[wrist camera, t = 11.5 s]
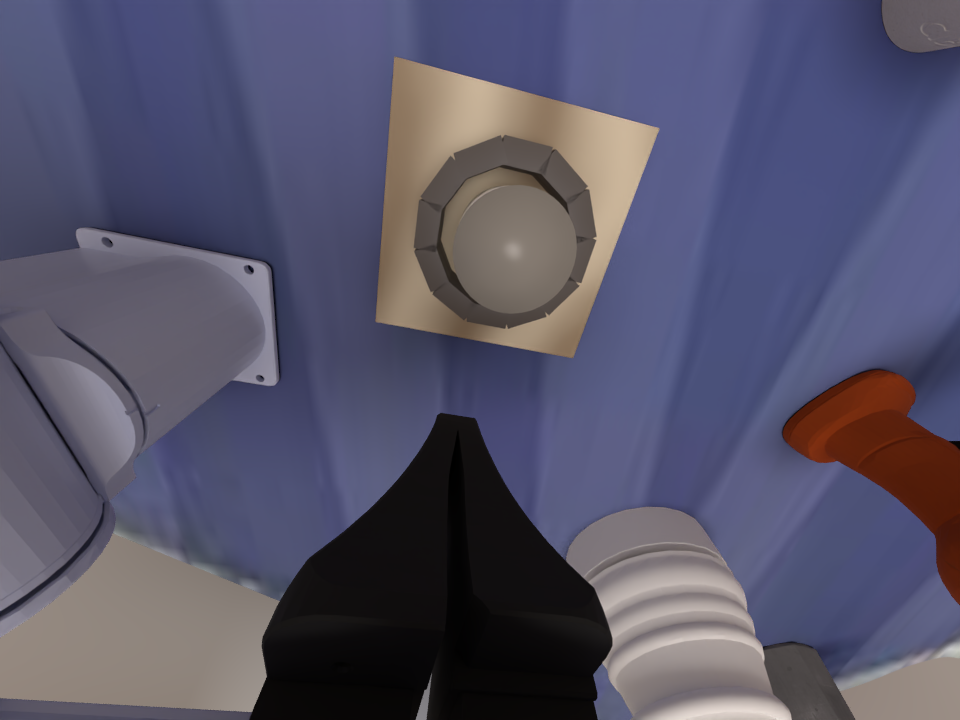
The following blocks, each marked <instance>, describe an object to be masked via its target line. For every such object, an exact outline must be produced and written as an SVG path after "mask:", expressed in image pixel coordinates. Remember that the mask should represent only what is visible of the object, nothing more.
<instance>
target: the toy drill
mask: <svg viewBox="0 0 960 720" xmlns="http://www.w3.org/2000/svg"><path fill="white" fill-rule="evenodd" d="M915 398H916V394H915V390H914V388H913V387H912V385H911V384H910V382H909V381H908V380H907V379H905V378H904V377H903V376H901V375H898V374H895V373H893V372H889V371H884V370H871V371H868V372H864V373H861V374H858V375H856V376H854V377H851V378H849V379H847V380H846V381H844V382H842V383H840V384H838V385H836V386H835V387H833V388H831V389H829V390H828V391H826V392H825V393H823V394H822V395H820V396H819V397H817V398H816V399H814V400H813V401H811V402H810V403H808V404H807V405H805V406H804V407H803V408H802V409H801V410H799V411H798V412H797V413H796V414H795V415H794V416H793V417H792V418H791V419H790V420H789V421H788V422H787V424H786V425H785V427H784V430H783V438H784V439H785V441H786V442H787V443H788V444H789V445H790V446H791V447H792V448H794V449H795V450H796V451H797V452H799V453H800V454H802V455H804V456H805V457H807V458H808V459H811V460H813V461H816V462H819V463H829V462H835V461H839V462H841V463H842V464H844V465H846V466H847V467H849V468H851V469H853V470H854V471H856V472H858V473H860V474H862V475H863V476H865V477H867V478H868V479H870V480H871V481H873V482H875V483H876V484H878V485H879V486H881V487H882V488H884V489H885V490H886V491H888V492H889V493H890V494H892V495H893V496H894V497H896V498H897V499H898V500H899V501H900V502H902V503H903V504H904V505H905V506H906V507H907V508H908V509H909V510H910V511H911V512H912V513H914V514H915V515H916V516H917V517H918V518H919V519H920V520H921V521H922V522H923V523H924V524H925V525H926V526H927V527H928V528H929V530H930V531H931V532H932V533H933V534H934V535H935V538H936V563H937V567H938V572H939V574H940V577H941V579H942V582H943V583H944V585H945V586H946V588H947V589H948V591H949V593H950V594H951V596H952V597H953V598H954V600H955V601H956V602H957V603H958V604H959V605H960V441H947V440H945V439H944V438H941V437H939V436H936V435H934V434H933V433H931V432H930V431H928V430H927V429H925V428H924V427H922V426H920V425H919V424H917V423H916V422H914V421H913V420H911V419H910V418H908V417H907V414H908V412H909V410H910V409H911V406H912V405H913V404H914V402H915Z"/></svg>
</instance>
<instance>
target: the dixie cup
mask: <svg viewBox="0 0 960 720" xmlns="http://www.w3.org/2000/svg"><path fill="white" fill-rule="evenodd" d="M882 18H883V24H884V27H885V30H886V33H887V35H888V36H889V38H890V39H891V41H892V42H893V43H894V44H895V45H896V46H898V47H899V48H901V49H903V50H905V51H909V52H916V53H920V52H929V51H935V50H940V49H946V48H952V47H958V46H960V0H882Z"/></svg>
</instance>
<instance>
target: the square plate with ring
mask: <svg viewBox="0 0 960 720" xmlns="http://www.w3.org/2000/svg"><path fill="white" fill-rule="evenodd" d="M658 131H659V128H656V127H652V126H649V125H645V124H641V123H638V122H634V121H630V120H626V119H623V118H619V117H615V116H612V115H608V114H604V113H601V112H597V111H593V110H590V109H586V108H582V107H579V106H575V105H571V104H567V103H564V102H560V101H556V100H553V99H549V98H545V97H542V96H538V95H534V94H531V93H527V92H523V91H520V90H516V89H512V88H508V87H505V86H501V85H497V84H494V83H490V82H486V81H483V80H479V79H475V78H472V77H468V76H464V75H461V74H457V73H453V72H449V71H446V70H442V69H438V68H435V67H431V66H427V65H424V64H420V63H416V62H413V61H409V60H405V59H402V58H398V57H394V70H393V84H392V98H391V112H390V126H389V140H388V154H387V168H386V182H385V196H384V210H383V224H382V238H381V252H380V266H379V279H378V293H377V307H376V321H375V322H379V323H385V324H390V325H396V326H401V327H407V328H412V329H418V330H423V331H428V332H434V333H439V334H445V335H450V336H456V337H461V338H467V339H472V340H477V341H483V342H488V343H494V344H499V345H505V346H510V347H515V348H521V349H526V350H532V351H537V352H543V353H548V354H554V355H559V356H564V357H570V358H573V357H574V354H575V351H576V349H577V346H578V343H579V341H580V338H581V335H582V333H583V330H584V327H585V325H586V322H587V319H588V317H589V314H590V311H591V309H592V306H593V303H594V301H595V298H596V296H597V293H598V290H599V288H600V285H601V282H602V280H603V277H604V274H605V272H606V269H607V266H608V264H609V261H610V258H611V256H612V253H613V250H614V248H615V245H616V242H617V240H618V237H619V235H620V232H621V229H622V227H623V224H624V221H625V219H626V216H627V213H628V211H629V208H630V205H631V203H632V200H633V197H634V195H635V192H636V189H637V187H638V184H639V181H640V179H641V176H642V174H643V171H644V168H645V166H646V163H647V160H648V158H649V155H650V152H651V150H652V147H653V144H654V142H655V139H656V136H657V134H658ZM510 185H524V186H530V187H534V188H538V189H540V190H542V191H545V192H546V193H548V194H549V195H551V196H553V197H554V198H555V199H556V200H557V201H558V202H559V203H560V204H561V205H562V206H563V207H564V208H565V210H566V212H567V213H568V215H569V216H570V219H571V221H572V223H573V226H574V229H575V234H576V240H577V251H576V259H575V263H574V267H573V270H572V272H571V274H570V277H569V279H568V280H567V282H566V283H565V285H564V287H563V288H562V289H561V290H560V291H559V293H558V294H557V295H556V296H554V297H553V298H552V299H551V300H550V301H548V302H547V303H546V304H544V305H542V306H540V307H538V308H536V309H534V310H531V311H527V312H523V313H514V314H509V313H501V312H496V311H493V310H490V309H488V308H486V307H484V306H482V305H480V304H479V303H478V302H476V301H475V300H474V299H473V298H472V297H470V295H469V294H468V293H467V292H466V291H465V289H464V288H463V286H462V285H461V283H460V281H459V279H458V277H457V274H456V271H455V267H454V262H453V243H454V238H455V234H456V231H457V228H458V225H459V223H460V220H461V218H462V215H463V213H464V211H465V209H466V208H467V206H468V204H469V203H470V202H471V201H472V200H473V199H474V198H475V197H476V196H477V195H478V194H480V193H481V192H483V191H485V190H487V189H490V188H492V187H497V186H510Z"/></svg>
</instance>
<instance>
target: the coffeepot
mask: <svg viewBox="0 0 960 720" xmlns="http://www.w3.org/2000/svg"><path fill="white" fill-rule="evenodd" d="M763 652H764V659H765V660H764V665H765V668H766V672H767V675H768V678H769V681H770V685H771V688H772V692H773V695H774V696H776V697H777V698H778V699H779V700H781V701H782V702H783V703H784V704H785V705H786V706H787V707H788V709H789V711H790V713H791V718H792V720H855V718H854V716H853V714H852V712H851V711H850V709H849V707H848V706H847V704H846V702H845V700H844V698H843V697H842V695H841V693H840V691H839V690H838V688H837V686H836V684H835V683H834V681H833V679H832V677H831V676H830V674H829V672H828V670H827V669H826V667H825V665H824V663H823V661H822V660H821V658H820V656H819V654H818V653H817V651H816V650H815V649H813V648H811V647H809V646H807V645H804V644H800V643H781V644H775V645H770V646H767V647H763Z"/></svg>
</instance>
